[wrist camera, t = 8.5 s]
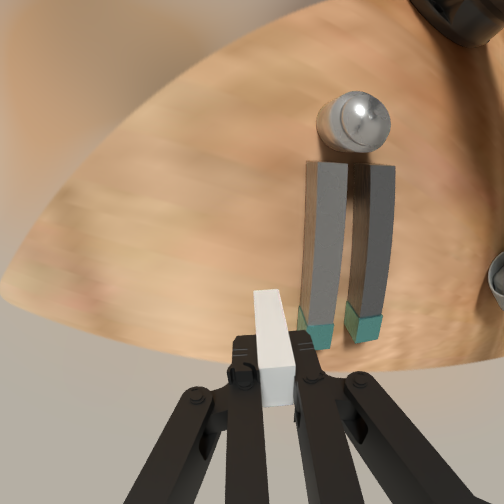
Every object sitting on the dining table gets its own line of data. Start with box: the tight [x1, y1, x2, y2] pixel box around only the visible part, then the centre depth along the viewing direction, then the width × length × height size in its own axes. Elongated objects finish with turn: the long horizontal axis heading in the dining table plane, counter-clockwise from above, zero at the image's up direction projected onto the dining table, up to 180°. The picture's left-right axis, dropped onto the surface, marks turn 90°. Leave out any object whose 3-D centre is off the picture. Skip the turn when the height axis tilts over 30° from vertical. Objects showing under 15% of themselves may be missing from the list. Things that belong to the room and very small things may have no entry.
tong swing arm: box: [297, 95, 391, 350], centre depth 23 cm, size 23×6×5 cm, turn 1°
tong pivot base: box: [316, 91, 395, 344], centre depth 23 cm, size 24×6×4 cm, turn 4°
